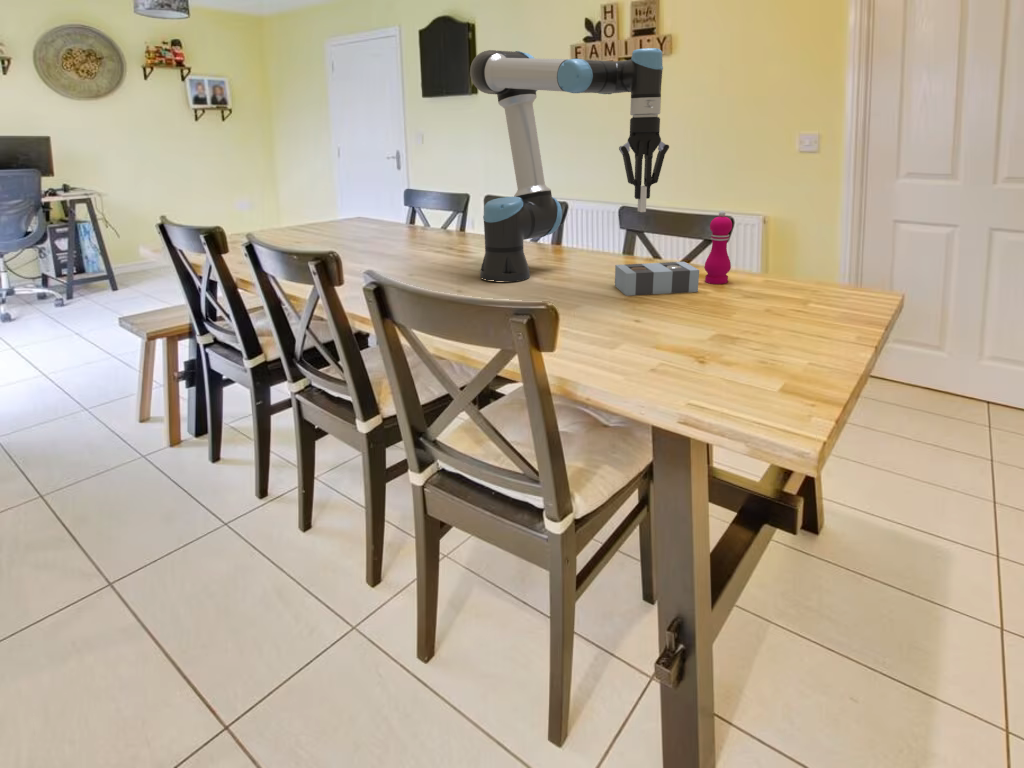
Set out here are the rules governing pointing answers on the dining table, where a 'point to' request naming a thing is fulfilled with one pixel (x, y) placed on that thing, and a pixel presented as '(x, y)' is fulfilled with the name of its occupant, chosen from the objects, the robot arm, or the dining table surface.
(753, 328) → the dining table surface
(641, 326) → the dining table surface
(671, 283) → the socket block
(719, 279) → the pepper mill
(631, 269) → the walnut peg
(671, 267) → the grey metal peg
